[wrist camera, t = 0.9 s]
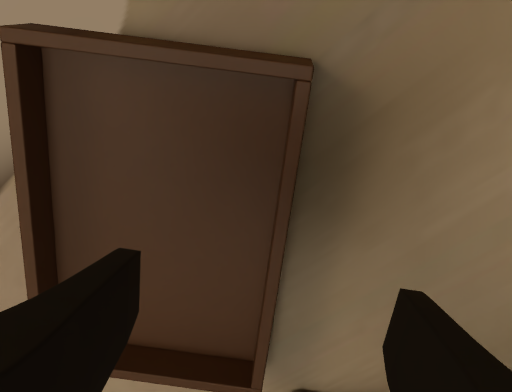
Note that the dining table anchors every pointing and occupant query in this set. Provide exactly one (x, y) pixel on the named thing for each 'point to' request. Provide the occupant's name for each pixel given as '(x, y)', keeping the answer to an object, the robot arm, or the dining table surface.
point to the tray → (160, 186)
